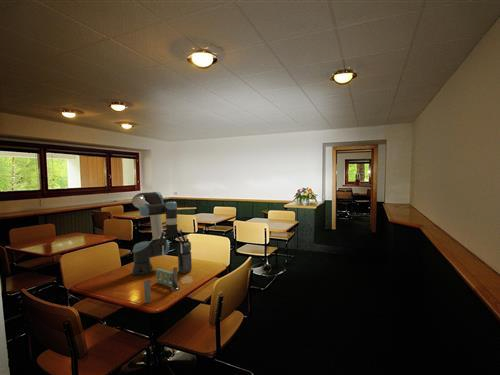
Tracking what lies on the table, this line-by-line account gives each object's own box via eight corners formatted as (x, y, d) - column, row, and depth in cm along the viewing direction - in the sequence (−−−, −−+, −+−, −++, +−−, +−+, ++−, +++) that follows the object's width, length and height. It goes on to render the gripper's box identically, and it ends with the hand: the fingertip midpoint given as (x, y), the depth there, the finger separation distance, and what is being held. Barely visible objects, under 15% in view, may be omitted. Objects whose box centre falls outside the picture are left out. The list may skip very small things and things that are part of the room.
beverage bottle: (174, 274, 190) (173, 242, 189) (183, 268, 202) (182, 237, 201) (185, 275, 187) (184, 242, 186) (194, 269, 199) (193, 238, 198)
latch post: (143, 302, 147) (143, 281, 146) (148, 300, 149) (148, 279, 149) (147, 304, 145) (146, 282, 144) (151, 301, 148) (151, 280, 147)
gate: (175, 285, 166) (175, 272, 166) (172, 287, 164) (172, 274, 164) (159, 280, 176) (158, 268, 176) (156, 281, 174) (155, 269, 173)
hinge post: (169, 289, 164) (168, 267, 163) (176, 285, 169) (175, 264, 168) (175, 291, 160) (174, 269, 160) (182, 287, 165) (181, 266, 165)
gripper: (187, 221, 182) (188, 250, 183) (152, 224, 171) (153, 255, 171) (190, 223, 175) (190, 252, 176) (153, 226, 164) (154, 258, 165)
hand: (172, 254), depth 174 cm, fingers open, 12 cm apart
